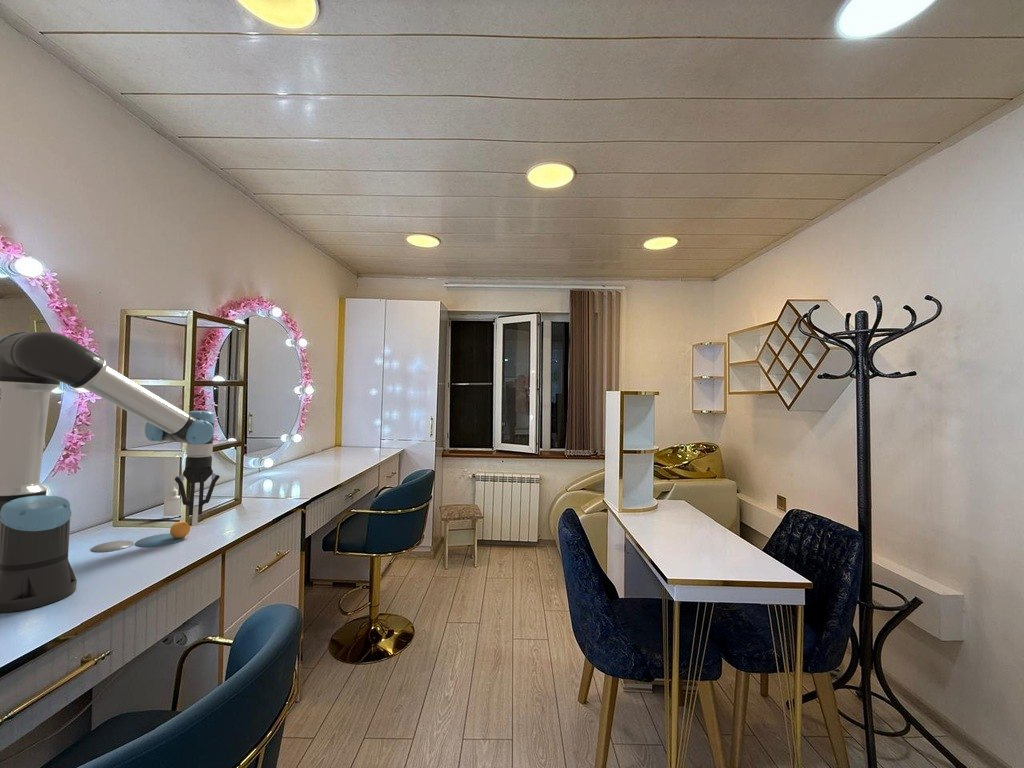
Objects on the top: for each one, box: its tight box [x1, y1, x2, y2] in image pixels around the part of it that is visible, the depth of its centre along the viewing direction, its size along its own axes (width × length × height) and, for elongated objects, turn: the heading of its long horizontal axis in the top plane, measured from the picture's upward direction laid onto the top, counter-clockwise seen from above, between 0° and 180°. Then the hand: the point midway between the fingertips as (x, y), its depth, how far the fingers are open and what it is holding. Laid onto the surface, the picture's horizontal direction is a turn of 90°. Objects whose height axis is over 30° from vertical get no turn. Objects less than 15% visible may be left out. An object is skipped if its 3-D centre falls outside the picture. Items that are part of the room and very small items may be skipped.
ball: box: [169, 520, 191, 538], centre depth 152 cm, size 6×6×6 cm
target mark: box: [135, 533, 186, 548], centre depth 149 cm, size 13×13×1 cm
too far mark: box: [90, 540, 134, 553], centre depth 142 cm, size 10×10×1 cm
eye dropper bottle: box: [163, 486, 181, 517], centre depth 174 cm, size 4×6×12 cm
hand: (194, 524), depth 154 cm, fingers closed
